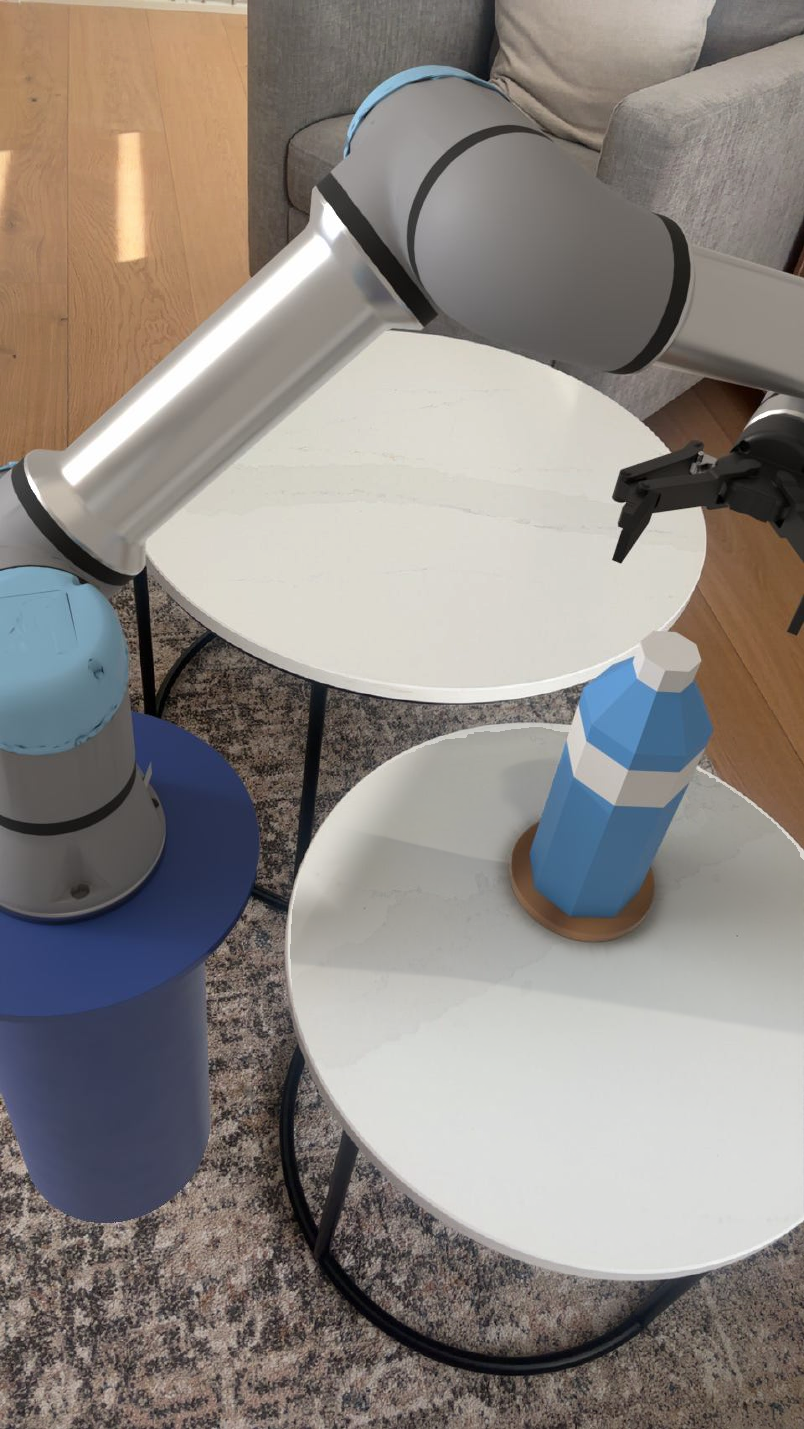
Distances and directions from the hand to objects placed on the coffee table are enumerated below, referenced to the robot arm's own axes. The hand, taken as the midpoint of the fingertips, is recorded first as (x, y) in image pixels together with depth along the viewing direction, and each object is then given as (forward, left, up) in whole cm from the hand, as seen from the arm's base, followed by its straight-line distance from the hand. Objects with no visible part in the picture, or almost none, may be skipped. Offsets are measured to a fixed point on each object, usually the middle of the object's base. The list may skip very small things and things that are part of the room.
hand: (707, 583), depth 79 cm
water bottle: (-1, -10, -24) cm, 26 cm away
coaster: (-1, -10, -25) cm, 27 cm away
